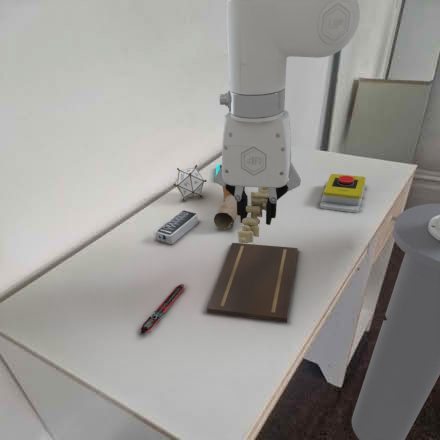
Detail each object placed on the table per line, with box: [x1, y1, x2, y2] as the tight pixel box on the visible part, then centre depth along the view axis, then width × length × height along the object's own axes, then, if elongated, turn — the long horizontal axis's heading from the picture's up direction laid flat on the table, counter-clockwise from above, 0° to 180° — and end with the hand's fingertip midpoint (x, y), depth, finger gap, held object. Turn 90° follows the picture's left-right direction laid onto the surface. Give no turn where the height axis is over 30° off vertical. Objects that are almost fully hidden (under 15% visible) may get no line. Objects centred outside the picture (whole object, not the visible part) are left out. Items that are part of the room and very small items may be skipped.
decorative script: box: [237, 187, 269, 244], centre depth 62 cm, size 17×4×3 cm, turn 166°
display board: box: [206, 242, 299, 323], centre depth 71 cm, size 14×21×1 cm, turn 166°
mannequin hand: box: [213, 186, 246, 231], centre depth 93 cm, size 7×7×25 cm
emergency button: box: [319, 173, 367, 214], centre depth 93 cm, size 9×4×15 cm
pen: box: [140, 283, 185, 335], centre depth 67 cm, size 2×14×1 cm, turn 154°
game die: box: [172, 164, 208, 202], centre depth 97 cm, size 9×8×10 cm
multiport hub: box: [155, 209, 199, 245], centre depth 86 cm, size 4×11×2 cm, turn 148°
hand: (256, 219), depth 63 cm, fingers closed on decorative script, 3 cm apart
